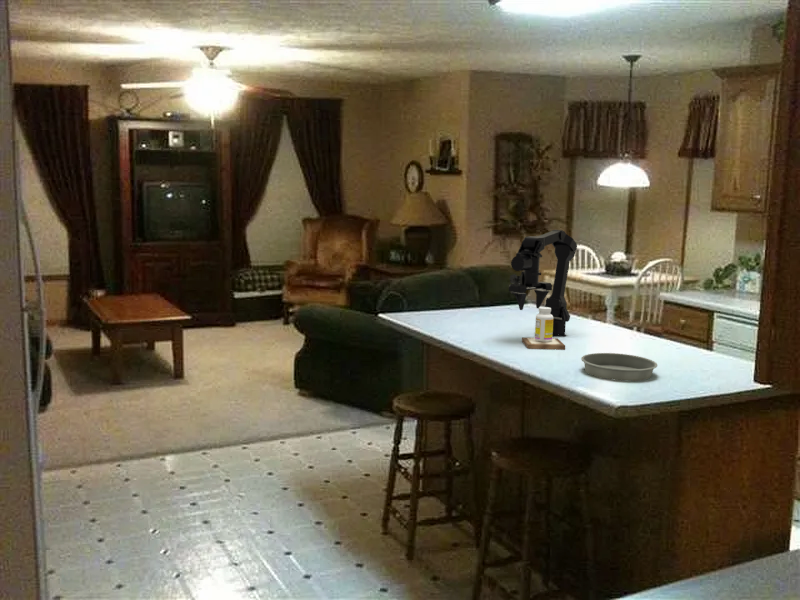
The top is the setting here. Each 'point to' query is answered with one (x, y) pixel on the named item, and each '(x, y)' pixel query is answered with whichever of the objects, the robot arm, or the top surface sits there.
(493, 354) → the top surface
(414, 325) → the top surface
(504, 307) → the top surface
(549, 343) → the brown square tray
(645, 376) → the cake pan
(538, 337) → the supplement bottle
